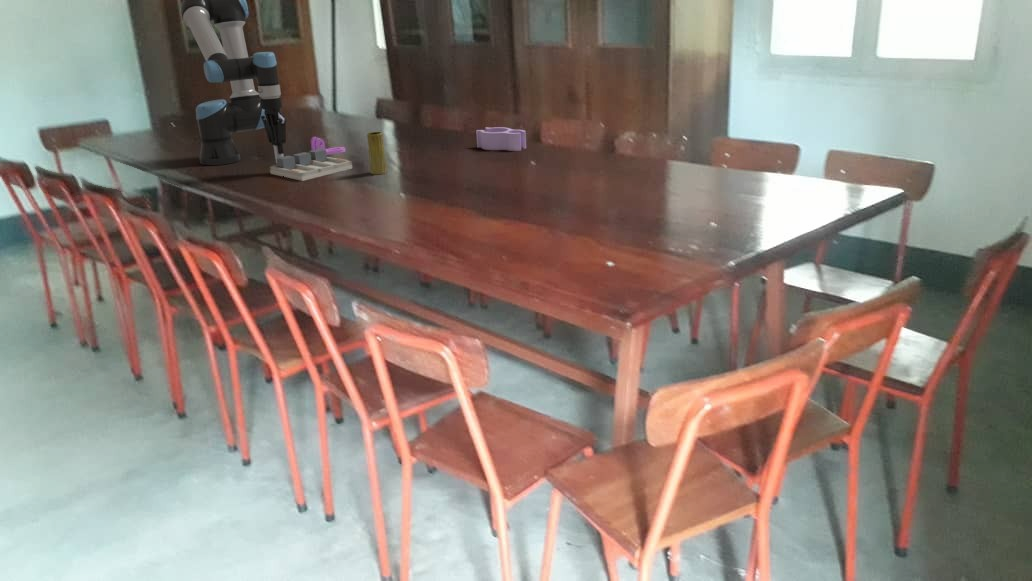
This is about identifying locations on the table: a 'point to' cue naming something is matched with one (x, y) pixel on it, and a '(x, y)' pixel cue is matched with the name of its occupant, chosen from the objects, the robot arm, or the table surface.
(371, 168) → the vase
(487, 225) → the table surface
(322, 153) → the slider
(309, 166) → the switch board
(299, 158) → the slider
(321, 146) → the bracket
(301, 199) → the table surface
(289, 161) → the slider
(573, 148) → the table surface
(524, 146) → the clip
